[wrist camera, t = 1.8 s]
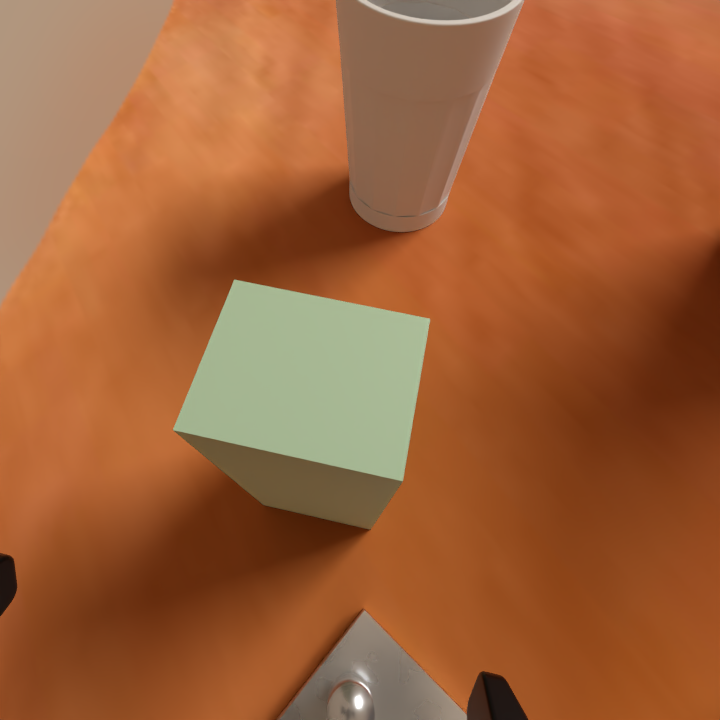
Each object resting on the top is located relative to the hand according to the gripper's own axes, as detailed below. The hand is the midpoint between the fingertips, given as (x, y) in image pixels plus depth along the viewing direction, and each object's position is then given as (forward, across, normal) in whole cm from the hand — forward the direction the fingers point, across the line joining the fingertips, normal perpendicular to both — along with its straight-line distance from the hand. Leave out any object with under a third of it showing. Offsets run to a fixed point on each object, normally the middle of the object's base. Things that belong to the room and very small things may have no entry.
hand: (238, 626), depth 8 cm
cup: (+25, 0, -8) cm, 26 cm away
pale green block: (+12, 0, +5) cm, 13 cm away
